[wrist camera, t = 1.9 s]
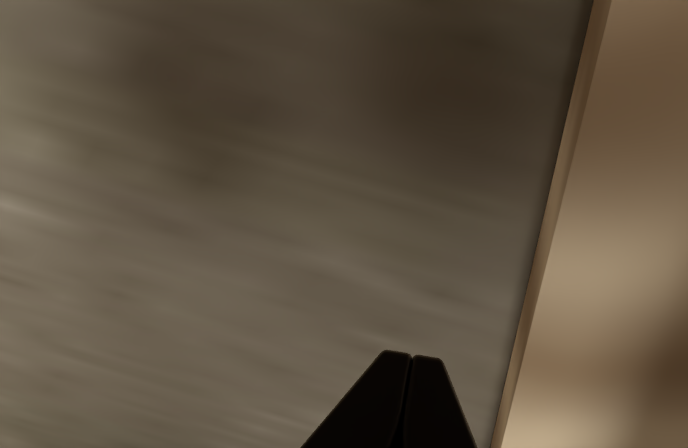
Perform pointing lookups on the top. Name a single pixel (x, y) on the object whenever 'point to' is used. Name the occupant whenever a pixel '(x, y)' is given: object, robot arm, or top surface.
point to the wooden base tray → (611, 250)
